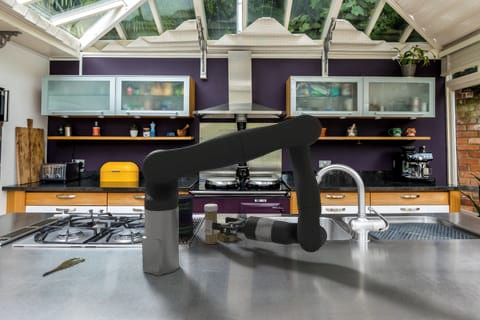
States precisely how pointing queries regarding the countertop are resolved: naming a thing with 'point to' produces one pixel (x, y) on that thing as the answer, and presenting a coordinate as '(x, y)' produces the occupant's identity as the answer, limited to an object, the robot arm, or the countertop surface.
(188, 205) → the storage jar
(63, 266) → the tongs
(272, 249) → the countertop surface
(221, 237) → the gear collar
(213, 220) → the sprinkles bottle
